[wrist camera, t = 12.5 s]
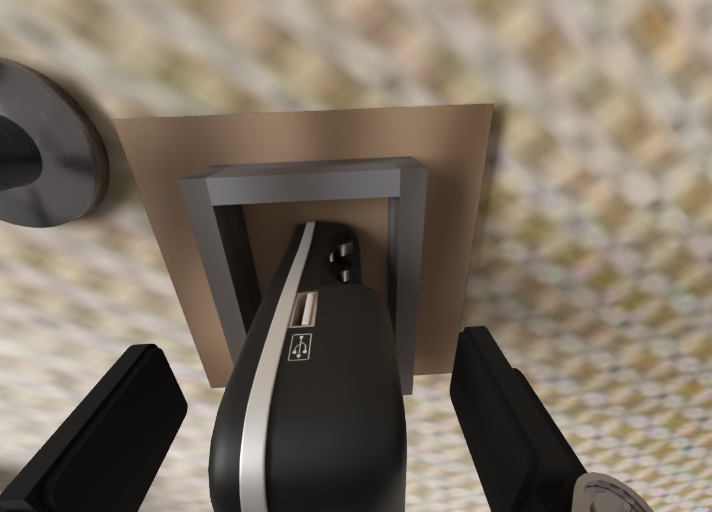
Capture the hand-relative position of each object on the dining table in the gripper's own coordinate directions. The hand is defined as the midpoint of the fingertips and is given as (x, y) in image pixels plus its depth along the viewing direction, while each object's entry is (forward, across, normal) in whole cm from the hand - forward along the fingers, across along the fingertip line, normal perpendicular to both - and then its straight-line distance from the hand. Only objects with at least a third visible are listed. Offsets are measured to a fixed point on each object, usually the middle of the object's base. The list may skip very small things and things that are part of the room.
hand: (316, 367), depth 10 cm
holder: (+8, 0, +1) cm, 8 cm away
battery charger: (+7, -1, +1) cm, 7 cm away
